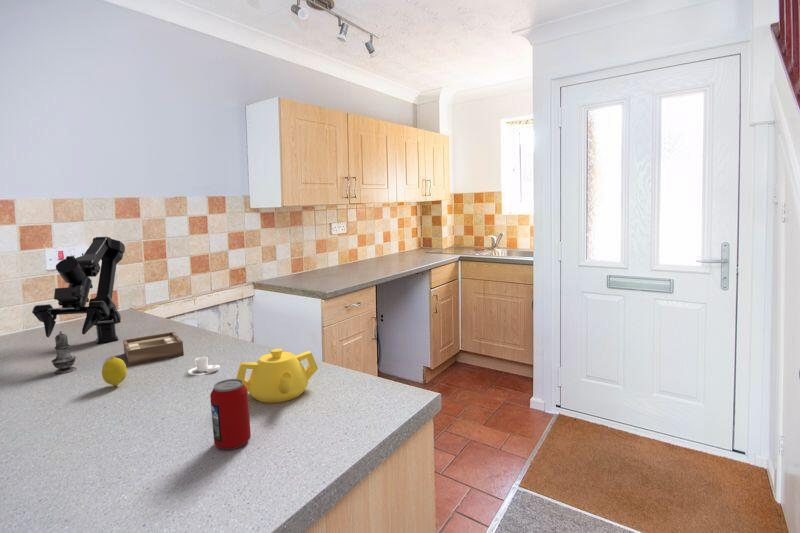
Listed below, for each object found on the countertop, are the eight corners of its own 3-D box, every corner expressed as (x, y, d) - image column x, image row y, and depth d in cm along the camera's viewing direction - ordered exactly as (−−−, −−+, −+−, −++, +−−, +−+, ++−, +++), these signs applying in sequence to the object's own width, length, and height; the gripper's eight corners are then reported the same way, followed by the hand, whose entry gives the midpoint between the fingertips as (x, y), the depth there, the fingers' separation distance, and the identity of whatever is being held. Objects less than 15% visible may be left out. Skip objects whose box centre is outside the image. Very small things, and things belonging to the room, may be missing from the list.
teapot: (244, 420, 97) (240, 371, 96) (232, 391, 114) (229, 349, 112) (332, 400, 107) (330, 355, 105) (310, 376, 123) (308, 336, 121)
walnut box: (124, 353, 147) (123, 340, 146) (175, 344, 155) (173, 331, 155) (129, 365, 135) (127, 351, 134) (183, 355, 143) (182, 341, 143)
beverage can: (220, 435, 91) (215, 378, 89) (254, 433, 92) (250, 376, 90) (209, 453, 84) (204, 392, 83) (246, 450, 85) (241, 390, 83)
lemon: (133, 383, 120) (130, 354, 119) (114, 391, 115) (110, 361, 114) (117, 381, 122) (114, 352, 121) (98, 389, 117) (95, 359, 116)
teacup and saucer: (224, 371, 129) (223, 357, 128) (196, 379, 123) (195, 365, 123) (210, 364, 135) (209, 351, 134) (183, 372, 129) (182, 358, 129)
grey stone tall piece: (82, 367, 134) (77, 328, 133) (66, 374, 129) (61, 333, 127) (64, 367, 135) (59, 328, 133) (47, 374, 129) (42, 333, 128)
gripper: (31, 278, 134) (14, 323, 125) (102, 274, 138) (90, 318, 129) (48, 300, 142) (33, 343, 133) (114, 295, 147) (104, 337, 138)
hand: (65, 335), depth 133 cm, fingers open, 9 cm apart
